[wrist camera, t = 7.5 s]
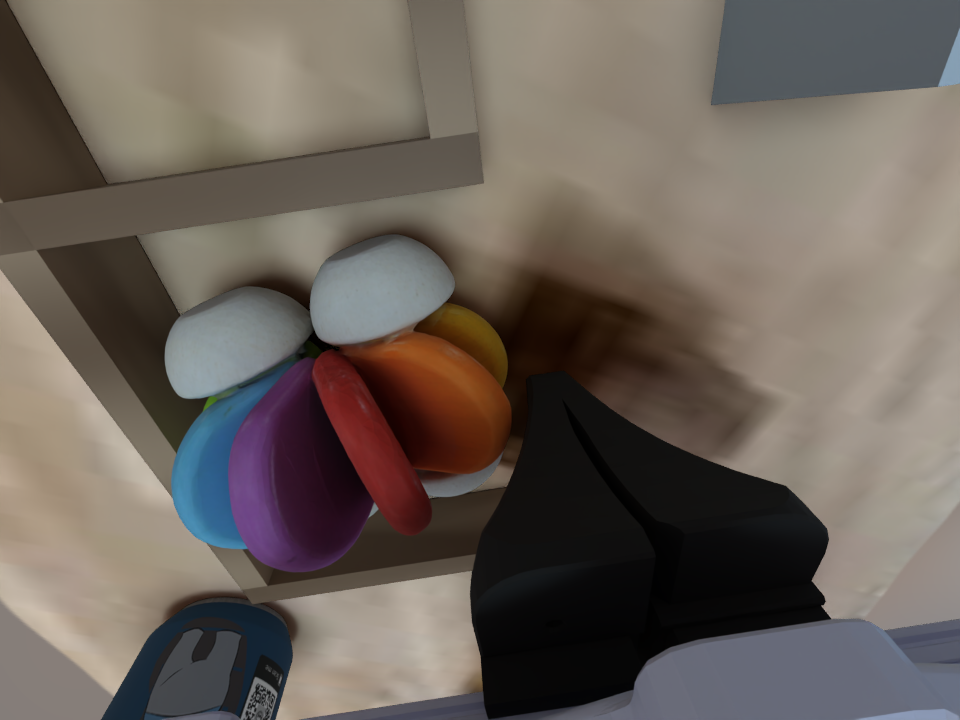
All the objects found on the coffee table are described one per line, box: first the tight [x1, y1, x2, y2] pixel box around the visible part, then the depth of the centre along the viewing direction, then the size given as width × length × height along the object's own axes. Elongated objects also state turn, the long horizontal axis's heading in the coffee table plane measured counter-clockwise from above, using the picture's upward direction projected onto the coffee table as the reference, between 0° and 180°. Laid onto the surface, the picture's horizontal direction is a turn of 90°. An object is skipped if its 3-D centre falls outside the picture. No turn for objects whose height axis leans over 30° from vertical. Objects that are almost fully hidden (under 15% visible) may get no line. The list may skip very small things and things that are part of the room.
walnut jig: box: [0, 0, 506, 604], centre depth 12 cm, size 22×11×3 cm, turn 7°
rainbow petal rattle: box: [165, 234, 512, 572], centre depth 11 cm, size 8×10×7 cm
